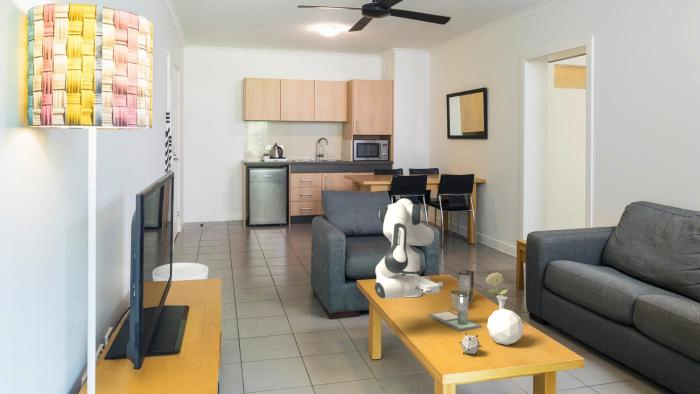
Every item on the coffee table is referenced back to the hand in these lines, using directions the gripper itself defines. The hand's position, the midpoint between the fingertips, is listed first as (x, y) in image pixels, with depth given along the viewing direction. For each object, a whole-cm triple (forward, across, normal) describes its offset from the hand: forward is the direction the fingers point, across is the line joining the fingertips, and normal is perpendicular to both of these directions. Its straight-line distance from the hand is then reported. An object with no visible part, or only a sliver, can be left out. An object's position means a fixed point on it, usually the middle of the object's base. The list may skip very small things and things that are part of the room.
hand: (435, 281), depth 231 cm
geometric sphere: (+16, -27, +22) cm, 39 cm away
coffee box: (+40, +26, +23) cm, 54 cm away
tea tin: (+14, -2, +21) cm, 26 cm away
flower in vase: (+29, -10, +22) cm, 38 cm away
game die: (-5, -30, +22) cm, 37 cm away
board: (+14, +4, +22) cm, 27 cm away
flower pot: (+28, +18, +23) cm, 41 cm away
